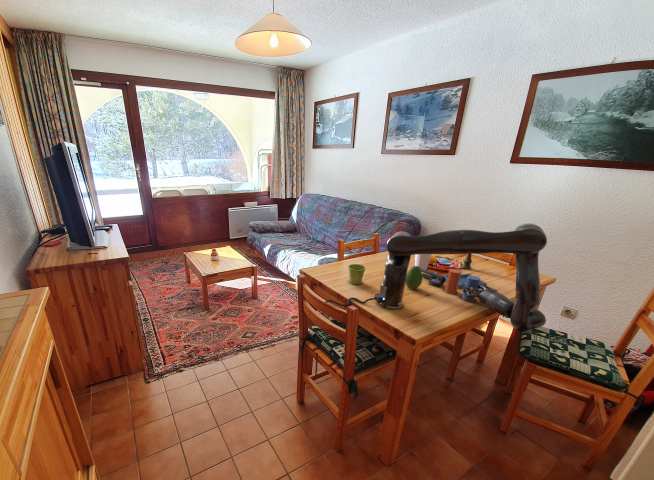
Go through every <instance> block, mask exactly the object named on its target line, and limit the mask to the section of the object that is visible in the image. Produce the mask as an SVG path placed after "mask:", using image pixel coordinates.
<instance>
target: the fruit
mask: <svg viewBox="0 0 654 480" xmlns="http://www.w3.org/2000/svg"><path fill="white" fill-rule="evenodd" d="M422 273H423V272H421V269H420V267H419V266H415V265H414V266H412V267H410V269H408V271H407V276H406V281H405V286H407V288H409V289H411V290H416V289H418V288H419V287H420V286H421V285H422V283H423V277H422Z"/></svg>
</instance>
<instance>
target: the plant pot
mask: <svg viewBox="0 0 654 480" xmlns="http://www.w3.org/2000/svg"><path fill="white" fill-rule="evenodd" d="M347 268H348V274H349V283H350V284H353V285H360V284H362V282H363V277H364V274H365V272H366V270H367V267H366V266H365V265H364V264H359V263H351V264H349V265H347Z"/></svg>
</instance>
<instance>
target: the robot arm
mask: <svg viewBox="0 0 654 480" xmlns="http://www.w3.org/2000/svg"><path fill="white" fill-rule="evenodd" d="M547 244H548V237H547V234H546V233H545V231H544V230H543V228H542V227H541V226H539V225H537V224H535V223H523V224H520V225H519V226H517V227H516V228H515V229H514V230H509V231H498V232H495V231H494V232H491V231H485V230H478V229H450V230H444V231H438V232H434V233H429V234H425V235H411V234H410V233H409V232H407V231H397V232H395V233H394V234H393V235H391V236H390V237H389V239H388V240H387V242H386V244H385V245H386V246H385V247H386V250H387V252H388V255H387V259H386V260H385V265H384V272H383V279H382V282H381V283H380V286H379V293H375V294H374V297H372V298H368V299H367V298H366V299H365V300H364V301H363V300H359V299H358V298H357V297H349V298H348V300H347V303H346V304H343V303H340V302H337V301H335V300H333V299H327V300H325V301H327V302H326V303H330V302H331V303H333V304H335V305H337V306H340V307H348V306H349V305H350V301H351V300H354V301H356V302H358V303H360V304H366V303H368V302H369V301H375V302H376V303H377V304H380V305H381V306H382V308H384V309H386V308H387V309H392V310H396V309H401V308H402V305H403V299H404V293H405V287H406V282H405V281H406V276H407V273H408V271H409V266H410V262H411V258H412V256H416V254H432V255H467V254H471V255H477V254H510V255H511V254H513V255H515V262H516V263H515V264H516V265H515V266H516V267H515V268H516V269H515V270H516V272H515V273H516V274H515V301H514V300H512V299H510V298H509V297H507V296H506V295H504V294H502V293H500V292H499V291H498V289H495V288H493V287H491V286H488V285H486V286H484V287H483V286H482V285H479V286H478V288H475V287H469V286H467V285H466V284H464V283H462V284H461V288H460V289H462V294H463V293H464V294H465V295H466V296H467V297H470V296H474V297H475V298H477V299H478V301H479V302H480V303H481V305H483V306H485V307H487V308H488V309H490V311H494V312H495V313H497V314H499V315H500V316H501V317H504V318H506V319H510V324H511V326H512V327H513V329H515V330H516V331H517V332H527V331H531V330H534V329H539V328H541V327H543V326H544V325H546V322H547V318H546V316H545V314H544V313H543V312H542V311H541V310H539V309H537V307H538V306H539V305H540V304H541V278H540V269H539V268H540V267H539V255H540V252H541V251H542V250H544V248H546V246H547ZM469 289H470V290H469ZM473 290H474V292H473ZM318 359H319V353H318V352H316V353H315V373H314V375H315V376H317V375H318V361H319V360H318Z"/></svg>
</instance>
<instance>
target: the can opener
mask: <svg viewBox="0 0 654 480" xmlns="http://www.w3.org/2000/svg"><path fill="white" fill-rule="evenodd" d="M421 273H422V278H425V279H427V280H429V281H428V282H429V283H428V284H430V285H432V286H435V287H438V286H442V285H444V284H446V282H447V281H446V278H445V276H443V275H441V274H439V273H438V272H435V271H431V270H427V269H426V270H421Z"/></svg>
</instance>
